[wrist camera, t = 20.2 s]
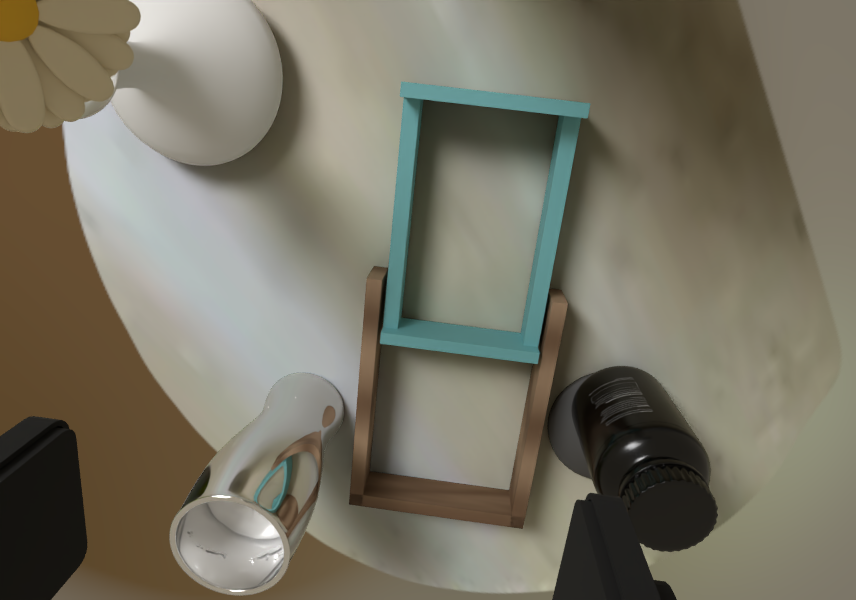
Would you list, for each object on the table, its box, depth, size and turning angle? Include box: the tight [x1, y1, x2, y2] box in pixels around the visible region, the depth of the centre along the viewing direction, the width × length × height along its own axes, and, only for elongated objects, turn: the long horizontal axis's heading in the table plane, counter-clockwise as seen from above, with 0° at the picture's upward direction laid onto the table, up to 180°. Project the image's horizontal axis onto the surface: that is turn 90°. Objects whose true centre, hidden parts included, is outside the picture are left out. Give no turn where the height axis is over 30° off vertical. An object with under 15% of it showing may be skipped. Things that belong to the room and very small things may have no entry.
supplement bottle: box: [571, 366, 718, 552], centre depth 36 cm, size 7×7×12 cm
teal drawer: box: [380, 82, 590, 364], centre depth 37 cm, size 16×11×4 cm, turn 174°
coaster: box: [548, 373, 594, 479], centre depth 43 cm, size 9×9×1 cm
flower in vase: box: [0, 0, 283, 166], centre depth 25 cm, size 13×11×25 cm
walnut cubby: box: [349, 266, 568, 529], centre depth 42 cm, size 18×13×3 cm
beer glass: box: [169, 373, 344, 595], centre depth 38 cm, size 7×7×15 cm
